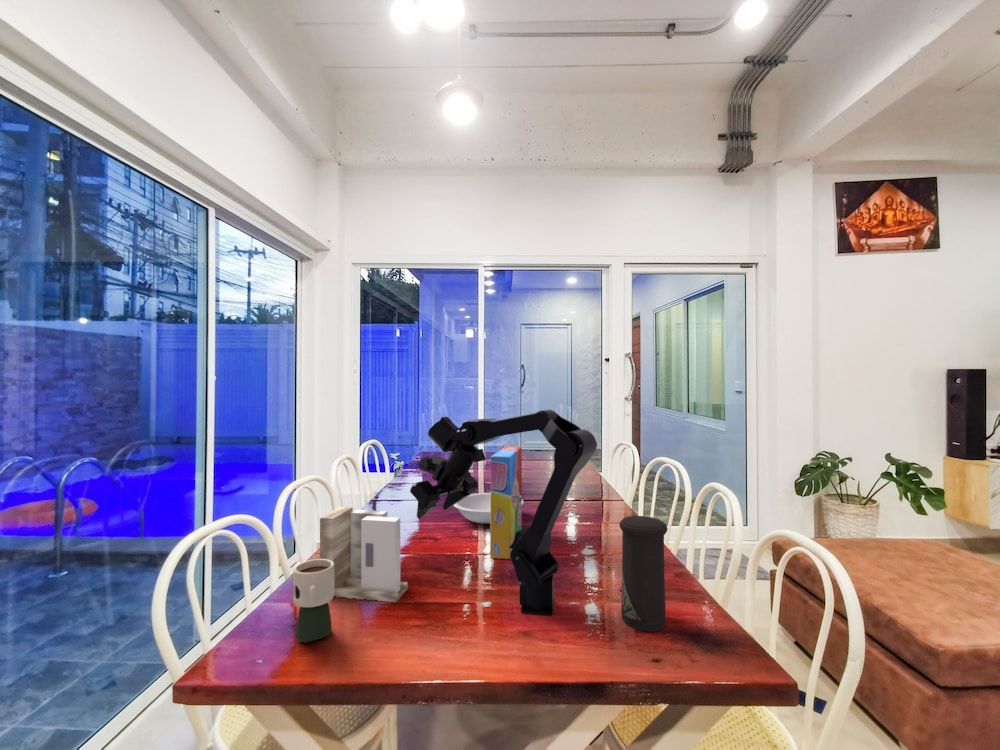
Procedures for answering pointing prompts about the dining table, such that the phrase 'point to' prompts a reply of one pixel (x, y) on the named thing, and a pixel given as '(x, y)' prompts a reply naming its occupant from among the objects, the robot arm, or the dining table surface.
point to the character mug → (313, 598)
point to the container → (643, 573)
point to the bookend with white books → (349, 553)
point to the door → (380, 554)
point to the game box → (505, 500)
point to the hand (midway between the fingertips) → (431, 513)
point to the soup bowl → (476, 507)
